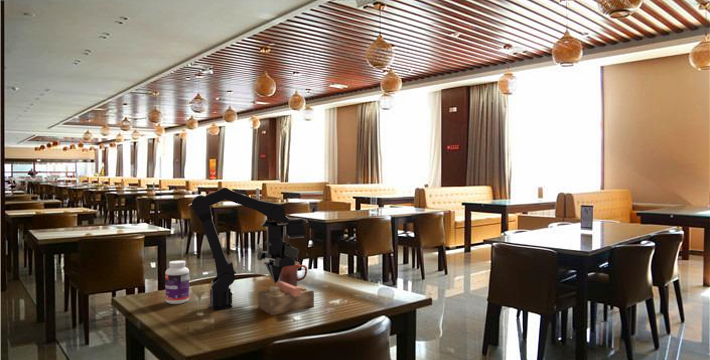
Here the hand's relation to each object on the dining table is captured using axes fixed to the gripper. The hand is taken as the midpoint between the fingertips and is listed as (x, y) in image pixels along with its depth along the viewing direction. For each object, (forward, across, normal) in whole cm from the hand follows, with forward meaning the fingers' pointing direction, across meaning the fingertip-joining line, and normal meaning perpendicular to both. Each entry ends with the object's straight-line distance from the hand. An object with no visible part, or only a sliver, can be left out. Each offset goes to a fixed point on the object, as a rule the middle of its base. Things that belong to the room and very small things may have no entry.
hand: (275, 282), depth 171 cm
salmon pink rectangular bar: (+1, -9, 0) cm, 9 cm away
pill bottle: (+7, +22, +28) cm, 36 cm away
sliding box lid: (+3, -8, 0) cm, 8 cm away
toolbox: (+7, -8, 0) cm, 11 cm away
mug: (+7, +14, -14) cm, 21 cm away
